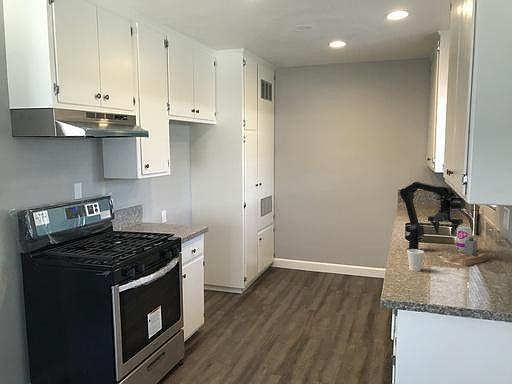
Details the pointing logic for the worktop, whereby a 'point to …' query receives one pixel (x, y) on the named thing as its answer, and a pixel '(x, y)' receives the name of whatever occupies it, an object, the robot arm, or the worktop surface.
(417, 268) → the dixie cup
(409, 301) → the worktop surface
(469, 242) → the grey knobbed block
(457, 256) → the wooden dish rack
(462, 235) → the sparkling drink can
